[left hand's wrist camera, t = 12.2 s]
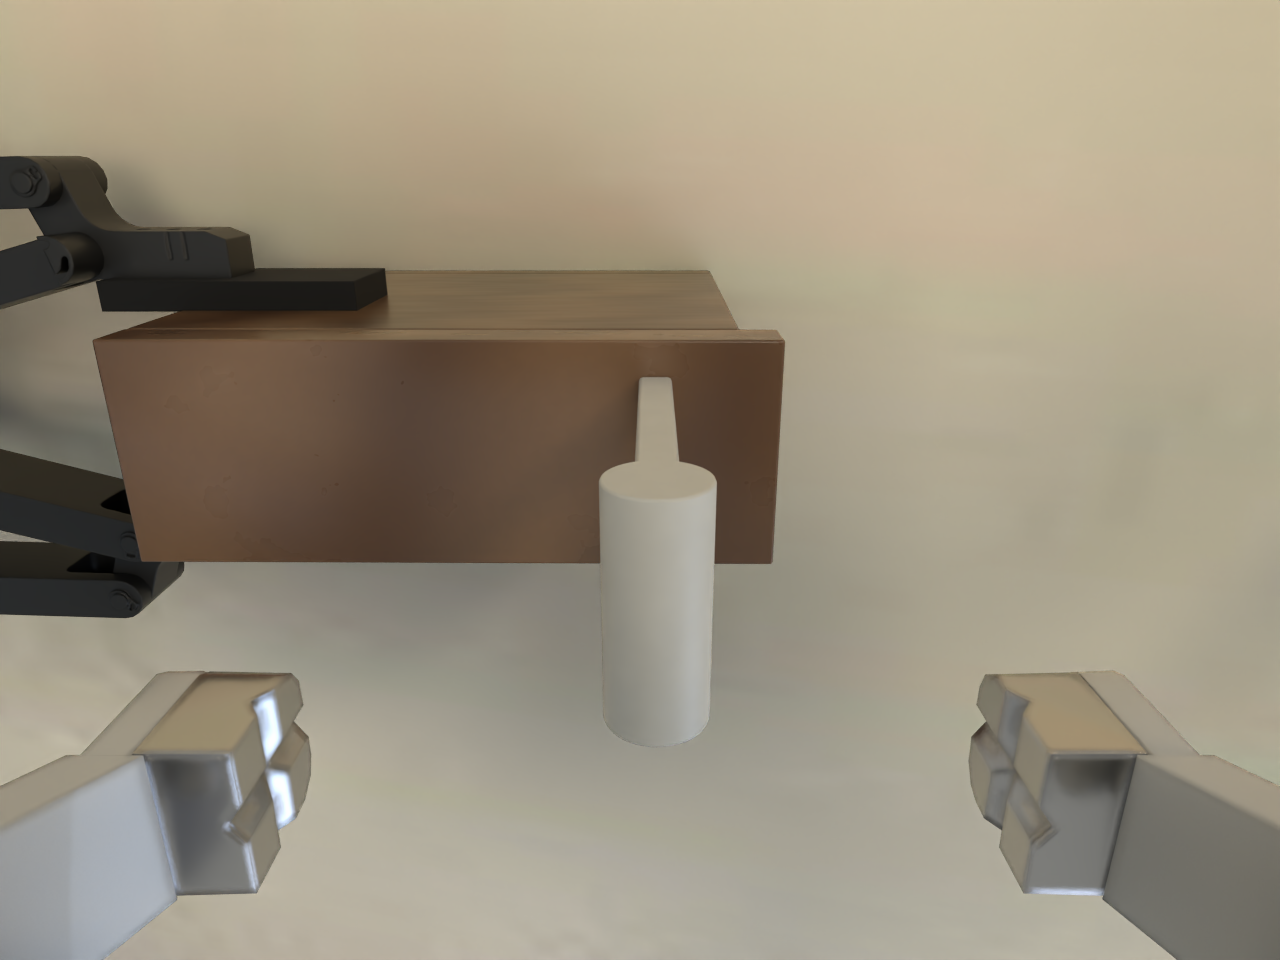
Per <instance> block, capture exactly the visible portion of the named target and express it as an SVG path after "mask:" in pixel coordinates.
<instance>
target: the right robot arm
mask: <svg viewBox="0 0 1280 960" xmlns="http://www.w3.org/2000/svg"><path fill="white" fill-rule="evenodd" d="M106 191H107V178H106V176H105V173H104V171H103V169H102V168H101V167H100V166H99V165H98V164H97V163H96V162H95V161H93V160H91V159H90V158H87V157H81V156H10V157H0V209H24V208H28V209H29V210H30V212H31V214H32V215H33V217H34V219H35V221H36V222H37V224H38V226H39V227H40V229H41V231H42V233H43V234H44V236H38V237H37V239H38V240H35V241H32V242H29V243H25V244H22V245H19V246H16V247H12V248H9V249H6V250H3V251H0V309H3V308H6V307H10V306H13V305H16V304H20V303H23V302H27V301H30V300H33V299H37V298H40V297H43V296H47V295H50V294H53V293H57V292H60V291H63V290H67V289H70V288H74V287H77V286H80V285H84V284H87V283H90V282H94V281H96V284H97V289H98V294H99V298H100V303H101V308H102V311H358V310H359V309H361V308H363V307H365V306H367V305H369V304H371V303H373V302H375V301H377V300H378V299H380V298H382V297H384V296H386V295H388V294H387V284H386V274H385V268H254V261H253V255H252V248H251V242H250V235H249V234H246V233H243V232H241V231H238V230H236V229H233V228H231V227H138V226H134V225H132V224H129V223H128V222H126V221H124V220H123V219H122V218H121V217H120V216H119V215H118V214H117V213H116V212H115V210H114V209H113V208H112V206H111V204H110V202H109V200H108V199H107V197H106V195H105V193H106ZM97 280H100V281H97ZM0 530H2V531H6V532H10V533H15V534H19V535H23V536H27V537H31V538H35V539H39V540H44V541H48V542H52V543H46V542H12V541H0V614H7V615H41V616H74V617H108V618H129V617H133V616H135V615H137V614H138V613H140V612H141V611H142V610H143V609H144V608H145V607H146V606H147V605H149V604H150V603H151V602H152V601H153V600H154V599H155V598H156V597H158V596H159V595H160V594H161V593H162V592H163V591H164V590H165V589H167V588H168V587H169V586H170V585H171V584H172V583H173V582H174V581H176V580H177V579H178V578H179V577H180V576H181V575H182V573H183V571H184V562H143V561H142V560H141V557H140V552H139V548H138V543H137V539H136V534H135V530H134V525H133V521H132V516H131V512H130V507H129V503H128V498H127V494H126V489H125V485H124V480H123V479H119V478H115V477H111V476H107V475H103V474H99V473H95V472H91V471H87V470H83V469H79V468H75V467H71V466H67V465H63V464H59V463H55V462H51V461H47V460H43V459H39V458H35V457H31V456H26V455H22V454H18V453H14V452H10V451H6V450H2V449H0Z"/></svg>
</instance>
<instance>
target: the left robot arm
mask: <svg viewBox="0 0 1280 960" xmlns="http://www.w3.org/2000/svg"><path fill="white" fill-rule="evenodd" d="M302 706H303V700H302V695H301V690H300V685H299V681H298V680H297V679H296V678H295V677H294V675H293V674H292V673H259V672H205V671H168V672H164V673H160V674H157V675H156V676H155V677H154V678H153V679H152V680H151V681H150V682H149V683H148V684H147V685H146V686H145V687H144V688H143V689H142V690H141V691H140V693H139V694H138V695H137V696H136V697H135V698H134V699H133V700H132V701H131V702H130V703H129V704H128V705H127V706H126V707H125V708H124V709H123V710H122V712H121V713H120V714H119V715H118V716H117V717H116V718H115V719H114V720H113V721H112V722H111V723H110V724H109V725H108V726H107V727H106V728H105V730H104V731H103V732H102V733H101V734H100V735H99V736H98V737H97V738H96V739H95V740H94V741H93V742H92V743H91V744H90V745H89V746H88V748H87V749H86V750H85V751H84V752H83V753H82V754H81V755H66V756H64V757H61V758H59V759H57V760H55V761H53V762H51V763H49V764H47V765H44V766H42V767H40V768H38V769H36V770H34V771H32V772H30V773H27V774H25V775H23V776H21V777H19V778H17V779H15V780H13V781H10V782H8V783H6V784H4V785H2V786H0V960H103V959H105V958H106V957H107V956H108V955H110V954H111V953H112V952H113V951H115V950H116V949H117V948H118V947H119V946H121V945H122V944H123V943H124V942H126V941H127V940H128V939H129V938H131V937H132V936H133V935H134V934H135V933H137V932H138V931H139V930H140V929H142V928H143V927H144V926H145V925H147V924H148V923H149V922H150V921H152V920H153V919H154V918H155V917H156V916H158V915H159V914H160V913H161V912H163V911H164V910H165V909H166V908H168V907H169V906H170V905H171V904H172V903H174V902H175V901H176V900H177V896H178V895H212V894H247V893H257V891H258V890H259V888H260V886H261V884H262V882H263V880H264V878H265V876H266V874H267V872H268V871H269V869H270V867H271V865H272V863H273V861H274V859H275V857H276V855H277V854H278V852H279V850H280V848H281V845H280V839H279V833H278V830H279V829H281V828H282V827H284V826H285V825H287V824H288V823H290V822H291V821H292V820H294V819H295V818H296V817H297V815H298V813H299V811H300V809H301V807H302V805H303V803H304V801H305V798H306V793H307V789H308V785H309V780H310V776H311V751H310V744H309V737H308V736H307V735H306V734H305V733H304V732H303V731H302V730H301V728H300V727H299V726H298V725H297V724H296V723H295V722H294V720H295V718H296V716H297V715H298V713H299V711H300V710H301V708H302ZM977 706H978V708H979V710H980V711H981V713H982V715H983V716H984V718H985V720H986V722H985V723H984V724H983V725H982V726H981V727H980V728H979V729H978V731H977V732H976V733H975V734H974V735H973V736H972V737H971V745H970V753H969V771H970V782H971V787H972V790H973V794H974V797H975V800H976V803H977V805H978V807H979V809H980V811H981V813H982V815H983V817H984V818H985V819H986V820H987V821H989V822H990V823H992V824H993V825H995V826H996V827H998V828H999V829H1001V830H1002V833H1001V839H1000V845H999V848H1000V850H1001V852H1002V854H1003V855H1004V857H1005V859H1006V861H1007V863H1008V865H1009V867H1010V869H1011V871H1012V872H1013V874H1014V876H1015V878H1016V880H1017V882H1018V884H1019V886H1020V887H1021V889H1022V891H1023V893H1031V894H1066V895H1102V896H1103V900H1104V901H1105V902H1107V903H1108V904H1109V905H1110V906H1112V907H1113V908H1114V909H1115V910H1117V911H1118V912H1119V913H1120V914H1121V915H1123V916H1124V917H1125V918H1126V919H1128V920H1129V921H1130V922H1131V923H1133V924H1134V925H1135V926H1136V927H1137V928H1139V929H1140V930H1141V931H1142V932H1144V933H1145V934H1146V935H1147V936H1149V937H1150V938H1151V939H1152V940H1153V941H1155V942H1156V943H1157V944H1158V945H1160V946H1161V947H1162V948H1163V949H1165V950H1166V951H1167V952H1168V953H1169V954H1171V955H1172V956H1173V957H1174V958H1176V959H1177V960H1280V786H1278V785H1276V784H1274V783H1272V782H1269V781H1267V780H1265V779H1263V778H1261V777H1259V776H1257V775H1255V774H1252V773H1250V772H1248V771H1246V770H1244V769H1242V768H1240V767H1238V766H1236V765H1233V764H1231V763H1229V762H1227V761H1225V760H1223V759H1221V758H1219V757H1216V756H1214V755H1199V754H1198V753H1197V752H1196V751H1195V750H1194V749H1193V747H1192V746H1191V745H1190V744H1189V743H1188V742H1187V741H1186V740H1185V739H1184V738H1183V737H1182V736H1181V735H1180V734H1179V733H1178V732H1177V731H1176V729H1175V728H1174V727H1173V726H1172V725H1171V724H1170V723H1169V722H1168V721H1167V720H1166V719H1165V718H1164V717H1163V716H1162V715H1161V714H1160V713H1159V711H1158V710H1157V709H1156V708H1155V707H1154V706H1153V705H1152V704H1151V703H1150V702H1149V701H1148V700H1147V699H1146V698H1145V697H1144V696H1143V694H1142V693H1141V692H1140V691H1139V690H1138V689H1137V688H1136V687H1135V686H1134V685H1133V684H1132V683H1131V682H1130V681H1129V680H1128V679H1127V678H1126V676H1125V675H1122V674H1120V673H1118V672H1115V671H1089V672H1071V673H1031V674H989V675H985V676H984V678H983V681H982V683H981V685H980V688H979V694H978V699H977Z"/></svg>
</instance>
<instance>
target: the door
mask: <svg viewBox="0 0 1280 960" xmlns="http://www.w3.org/2000/svg"><path fill="white" fill-rule="evenodd" d="M93 346H94V350H95V355H96V359H97V364H98V368H99V373H100V377H101V381H102V386H103V390H104V395H105V399H106V404H107V408H108V413H109V417H110V422H111V426H112V431H113V435H114V440H115V444H116V449H117V453H118V458H119V462H120V467H121V471H122V476H123V480H124V485H125V489H126V494H127V498H128V503H129V507H130V512H131V516H132V521H133V525H134V530H135V534H136V539H137V543H138V548H139V552H140V557H141V560H142V561H143V562H402V563H600V568H601V620H602V672H603V716H604V720H605V722H606V724H607V726H608V727H609V729H610V730H611V731H612V732H613V733H614V734H615V735H617V736H618V737H620V738H621V739H623V740H625V741H628V742H630V743H633V744H637V745H641V746H648V747H666V746H673V745H678V744H681V743H684V742H686V741H689V740H691V739H693V738H694V737H696V736H697V735H698V734H700V733H701V732H702V731H703V729H704V728H705V727H706V725H707V723H708V721H709V716H710V685H711V653H712V621H713V589H714V564H772V562H773V544H774V527H775V509H776V492H777V474H778V457H779V439H780V422H781V404H782V387H783V369H784V351H785V341H784V339H783V338H782V336H781V335H780V334H779V332H778V331H777V330H182V329H124V330H121V331H118V332H115V333H112V334H109V335H106V336H103V337H100V338H97V339H94V340H93Z"/></svg>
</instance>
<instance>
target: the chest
mask: <svg viewBox="0 0 1280 960" xmlns="http://www.w3.org/2000/svg"><path fill="white" fill-rule="evenodd" d="M385 274H386V284H387V294H388V295H386V296H384V297H382V298H380V299H378V300H377V301H375V302H373V303H371V304H369V305H367V306H365V307H363V308H361V309H359V310H358V311H180V312H177V313H174V314H170V315H167V316H164V317H161V318H158V319H155V320H152V321H149V322H146V323H143V324H140V325H137V326H134V327H131V328H129V329H182V330H739V329H738V327H737V325H736V323H735V321H734V319H733V317H732V315H731V313H730V311H729V309H728V307H727V305H726V303H725V301H724V299H723V297H722V295H721V293H720V291H719V289H718V287H717V285H716V283H715V281H714V279H713V277H712V275H711V273H710V271H385Z"/></svg>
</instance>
